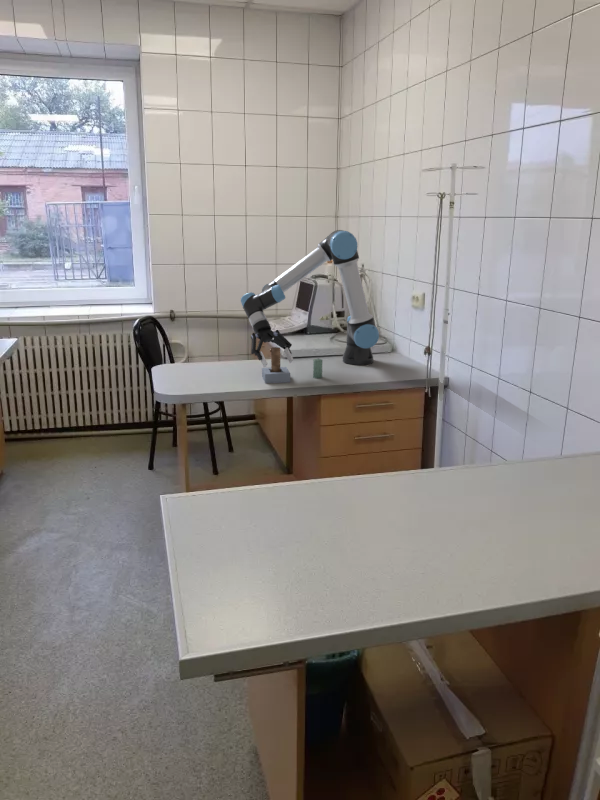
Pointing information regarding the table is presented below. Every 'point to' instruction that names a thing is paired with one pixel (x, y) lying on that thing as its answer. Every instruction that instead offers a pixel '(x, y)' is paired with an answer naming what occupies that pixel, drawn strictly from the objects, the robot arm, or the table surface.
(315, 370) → the green pin short
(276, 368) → the walnut pin long
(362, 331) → the robot arm
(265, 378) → the socket block
